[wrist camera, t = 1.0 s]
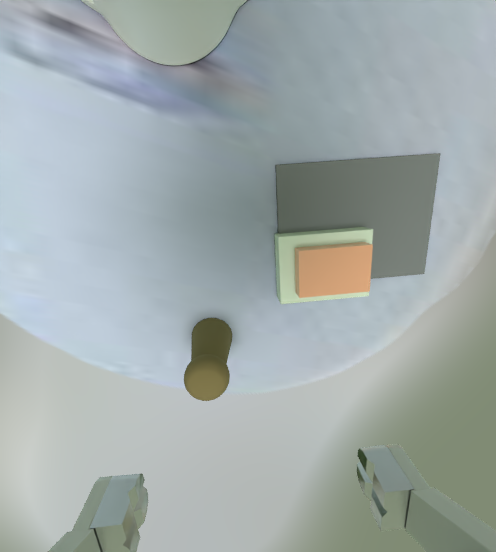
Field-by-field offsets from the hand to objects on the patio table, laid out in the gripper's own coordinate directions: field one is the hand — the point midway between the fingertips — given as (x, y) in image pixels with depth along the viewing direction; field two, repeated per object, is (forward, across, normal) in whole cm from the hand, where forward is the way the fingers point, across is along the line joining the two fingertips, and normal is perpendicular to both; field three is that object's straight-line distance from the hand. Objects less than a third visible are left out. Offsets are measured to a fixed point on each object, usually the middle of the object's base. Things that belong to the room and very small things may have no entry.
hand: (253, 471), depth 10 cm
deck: (+28, -12, -1) cm, 30 cm away
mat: (+28, -16, -6) cm, 33 cm away
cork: (+28, +4, +10) cm, 30 cm away
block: (+25, -12, -1) cm, 28 cm away
